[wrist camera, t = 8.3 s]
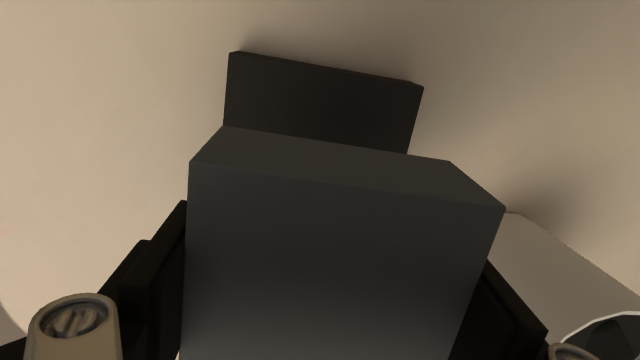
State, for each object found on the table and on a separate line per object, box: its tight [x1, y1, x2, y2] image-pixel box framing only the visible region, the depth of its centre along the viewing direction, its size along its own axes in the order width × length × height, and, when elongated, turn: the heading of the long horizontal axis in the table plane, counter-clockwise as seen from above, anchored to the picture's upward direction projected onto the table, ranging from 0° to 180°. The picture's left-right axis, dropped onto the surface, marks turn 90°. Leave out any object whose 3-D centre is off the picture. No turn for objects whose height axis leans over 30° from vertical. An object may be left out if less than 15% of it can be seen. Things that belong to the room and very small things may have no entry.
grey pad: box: [179, 126, 506, 360], centre depth 11 cm, size 7×7×3 cm
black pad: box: [223, 51, 424, 154], centre depth 21 cm, size 10×10×2 cm
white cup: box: [487, 213, 640, 360], centre depth 21 cm, size 7×7×10 cm
